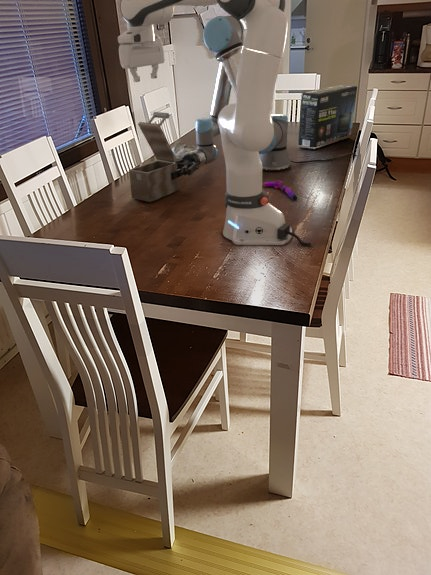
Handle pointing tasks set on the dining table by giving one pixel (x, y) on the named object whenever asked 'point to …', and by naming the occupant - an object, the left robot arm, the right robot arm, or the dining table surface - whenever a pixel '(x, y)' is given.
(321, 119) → the router box
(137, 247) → the dining table surface
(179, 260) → the dining table surface
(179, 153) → the fossil
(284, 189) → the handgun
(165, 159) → the lid
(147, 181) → the chest
